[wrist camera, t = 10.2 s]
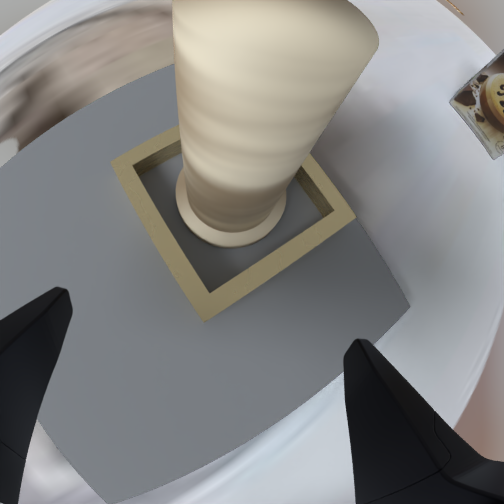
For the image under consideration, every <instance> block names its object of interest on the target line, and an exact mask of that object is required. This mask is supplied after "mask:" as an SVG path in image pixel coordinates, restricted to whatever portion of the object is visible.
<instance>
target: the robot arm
mask: <svg viewBox="0 0 504 504" xmlns="http://www.w3.org/2000/svg"><path fill="white" fill-rule="evenodd" d="M72 314H73V307H72V303H71V299H70V294H69V291H68V290H67V289H65V288H62V287H58V286H57V287H54V288H52V289H51V290H49V291H47V292H45V293H44V294H42V295H40V296H39V297H37V298H35V299H34V300H32V301H30V302H29V303H27V304H25V305H24V306H22V307H20V308H19V309H17V310H15V311H14V312H12V313H11V314H9V315H7V316H6V317H4V318H3V319H1V320H0V503H3V504H18V501H19V494H20V488H21V482H22V477H23V471H24V467H25V462H26V457H27V453H28V449H29V445H30V441H31V437H32V433H33V430H34V426H35V423H36V420H37V416H38V413H39V410H40V407H41V404H42V401H43V398H44V395H45V392H46V389H47V387H48V384H49V381H50V379H51V376H52V373H53V371H54V368H55V366H56V363H57V361H58V358H59V355H60V352H61V349H62V346H63V342H64V339H65V336H66V333H67V330H68V327H69V324H70V321H71V318H72ZM343 368H344V391H345V405H346V413H347V420H348V428H349V436H350V444H351V453H352V463H353V474H354V486H355V500H356V504H504V462H500V461H493V460H489V459H486V458H484V457H483V456H481V455H480V454H478V453H477V452H476V451H475V450H474V449H473V448H472V447H471V446H470V445H469V444H468V443H466V442H465V441H464V440H463V439H462V438H461V437H460V436H459V435H458V434H457V433H456V432H455V431H454V430H453V429H452V428H451V427H450V426H449V425H448V424H447V423H446V422H445V421H444V420H443V419H442V418H441V417H440V416H439V415H438V414H437V412H436V411H434V409H433V408H432V407H431V406H430V405H429V404H428V403H427V402H426V401H425V400H424V398H423V397H422V396H421V395H420V394H419V393H418V392H417V391H416V390H415V389H414V388H413V387H412V386H411V384H410V383H409V382H408V381H407V380H406V379H405V378H404V377H403V376H402V375H401V374H400V373H399V372H398V371H397V370H396V369H395V367H394V366H393V365H392V364H391V363H390V362H389V361H388V360H387V359H386V358H385V357H384V356H383V355H382V354H381V353H380V352H379V351H378V350H377V349H376V348H375V346H374V345H373V344H372V343H371V342H370V341H369V340H367V339H360V338H357V339H355V340H354V341H353V342H352V344H351V345H350V347H349V348H348V350H347V351H346V353H345V354H344V358H343Z"/></svg>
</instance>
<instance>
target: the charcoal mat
mask: <svg viewBox="0 0 504 504" xmlns="http://www.w3.org/2000/svg"><path fill="white" fill-rule="evenodd" d="M177 125H179V118H178V106H177V94H176V80H175V64H172V65H170V66H167V67H165V68H162V69H160V70H157V71H155V72H153V73H150V74H148V75H146V76H144V77H141V78H139V79H137V80H135V81H133V82H130V83H128V84H126V85H124V86H122V87H120V88H118V89H116V90H114V91H112V92H110V93H109V94H107V95H105V96H103V97H101V98H99V99H97V100H96V101H94V102H92V103H90V104H89V105H87V106H85V107H84V108H82V109H80V110H79V111H77V112H75V113H74V114H72V115H70V116H69V117H67V118H66V119H64V120H63V121H61V122H60V123H58V124H57V125H55V126H54V127H52V128H51V129H49V130H48V131H46V132H45V133H44V134H42V135H41V136H39V137H38V138H37V139H35V140H34V141H33V142H31V143H30V144H29V145H27V146H26V147H25V148H24V149H22V150H21V151H20V152H19V153H17V154H16V155H15V156H14V157H12V158H11V159H10V160H9V161H8V162H7V163H5V164H4V165H3V166H2V167H1V168H0V320H1V319H3V318H4V317H6V316H7V315H9V314H11V313H12V312H14V311H15V310H17V309H19V308H20V307H22V306H24V305H25V304H27V303H29V302H30V301H32V300H34V299H35V298H37V297H39V296H40V295H42V294H44V293H45V292H47V291H49V290H51V289H52V288H54V287H57V286H58V287H62V288H65V289H67V290H68V291H69V294H70V299H71V303H72V307H73V314H72V318H71V321H70V324H69V327H68V330H67V333H66V336H65V339H64V342H63V346H62V349H61V352H60V355H59V358H58V361H57V363H56V366H55V368H54V371H53V373H52V376H51V379H50V381H49V384H48V387H47V389H46V392H45V395H44V398H43V401H42V404H41V407H40V410H39V413H38V416H37V420H38V421H39V423H40V424H41V426H42V427H43V429H44V430H45V431H46V433H47V434H48V436H49V437H50V438H51V440H52V441H53V443H54V444H55V445H56V447H57V448H58V449H59V451H60V452H61V453H62V454H63V456H64V457H65V458H66V459H67V461H68V462H69V463H70V464H71V465H72V467H73V468H74V469H75V470H76V471H77V472H78V474H79V475H80V476H81V477H82V478H83V479H84V480H85V481H86V483H87V484H88V485H89V486H90V487H91V488H92V489H93V490H94V491H95V492H96V493H97V494H98V495H99V496H100V497H101V498H102V499H103V500H104V501H105V502H106V503H107V504H115V503H118V502H121V501H124V500H127V499H130V498H132V497H135V496H138V495H141V494H143V493H146V492H148V491H151V490H153V489H156V488H158V487H160V486H163V485H165V484H167V483H170V482H172V481H174V480H176V479H179V478H181V477H183V476H185V475H187V474H189V473H191V472H193V471H195V470H197V469H199V468H201V467H203V466H205V465H207V464H209V463H211V462H213V461H214V460H216V459H218V458H220V457H222V456H224V455H225V454H227V453H229V452H231V451H232V450H234V449H236V448H237V447H239V446H241V445H242V444H244V443H246V442H247V441H249V440H251V439H252V438H254V437H255V436H257V435H259V434H260V433H262V432H263V431H265V430H266V429H268V428H269V427H271V426H272V425H274V424H275V423H277V422H278V421H280V420H281V419H283V418H284V417H285V416H287V415H288V414H290V413H291V412H292V411H294V410H295V409H297V408H298V407H299V406H301V405H302V404H303V403H305V402H306V401H307V400H309V399H310V398H311V397H313V396H314V395H315V394H316V393H318V392H319V391H320V390H322V389H323V388H324V387H325V386H327V385H328V384H329V383H330V382H331V381H333V380H334V379H335V378H336V377H337V376H339V375H340V374H341V373H342V372H343V371H344V368H343V358H344V354H345V353H346V351H347V350H348V348H349V347H350V345H351V344H352V342H353V341H354V340H355V339H357V338H360V339H367V340H369V341H370V342H371V343H372V344H374V343H375V342H376V341H378V340H379V339H380V338H381V337H382V336H383V335H384V334H385V333H386V332H387V331H388V330H389V329H390V328H391V327H392V326H393V325H394V324H395V323H396V322H397V321H398V320H399V318H400V317H401V316H402V315H403V314H404V313H405V312H406V311H407V310H408V309H409V308H410V305H409V303H408V301H407V299H406V298H405V296H404V294H403V292H402V290H401V289H400V287H399V285H398V284H397V282H396V280H395V278H394V277H393V275H392V273H391V272H390V270H389V268H388V267H387V265H386V263H385V262H384V260H383V258H382V257H381V255H380V254H379V252H378V250H377V249H376V247H375V246H374V244H373V242H372V241H371V239H370V238H369V236H368V235H367V233H366V232H365V230H364V229H363V227H362V226H361V224H360V223H359V221H358V220H357V218H355V219H353V220H352V221H351V222H349V223H348V224H347V225H345V226H344V227H342V228H341V229H340V230H338V231H337V232H336V233H334V234H333V235H331V236H330V237H329V238H327V239H326V240H324V241H323V242H322V243H320V244H319V245H317V246H316V247H315V248H313V249H312V250H310V251H309V252H308V253H306V254H305V255H303V256H302V257H300V258H299V259H298V260H296V261H295V262H293V263H292V264H290V265H289V266H288V267H286V268H285V269H283V270H282V271H280V272H279V273H277V274H276V275H275V276H273V277H272V278H270V279H269V280H267V281H266V282H264V283H263V284H261V285H260V286H258V287H257V288H256V289H254V290H253V291H251V292H250V293H248V294H247V295H245V296H244V297H242V298H241V299H239V300H238V301H236V302H235V303H233V304H232V305H230V306H229V307H227V308H226V309H224V310H223V311H221V312H220V313H218V314H217V315H215V316H214V317H212V318H211V319H209V320H208V321H206V322H203V321H202V319H201V318H200V316H199V315H198V313H197V312H196V310H195V309H194V307H193V306H192V304H191V303H190V301H189V300H188V298H187V297H186V295H185V294H184V292H183V290H182V289H181V287H180V286H179V284H178V283H177V281H176V279H175V278H174V276H173V275H172V273H171V271H170V270H169V268H168V266H167V265H166V263H165V261H164V260H163V258H162V256H161V255H160V253H159V251H158V250H157V248H156V246H155V245H154V243H153V241H152V239H151V238H150V236H149V234H148V232H147V231H146V229H145V227H144V225H143V224H142V222H141V220H140V218H139V216H138V215H137V213H136V211H135V209H134V207H133V206H132V204H131V202H130V200H129V198H128V196H127V194H126V192H125V191H124V189H123V187H122V185H121V183H120V181H119V179H118V177H117V175H116V173H115V171H114V169H113V167H112V165H111V163H110V162H111V161H112V160H114V159H115V158H117V157H119V156H121V155H122V154H124V153H126V152H127V151H129V150H131V149H133V148H134V147H136V146H138V145H140V144H142V143H144V142H145V141H147V140H149V139H151V138H153V137H155V136H157V135H159V134H161V133H163V132H165V131H167V130H169V129H171V128H173V127H175V126H177ZM183 167H184V166H183V158H182V153H181V154H179V155H177V156H175V157H173V158H171V159H169V160H167V161H166V162H164V163H162V164H160V165H158V166H157V167H155V168H153V169H151V170H149V171H148V172H146V173H144V174H143V175H141V176H139V179H140V180H141V182H142V184H143V186H144V187H145V189H146V191H147V193H148V194H149V196H150V198H151V200H152V201H153V203H154V205H155V207H156V208H157V210H158V212H159V213H160V215H161V217H162V218H163V220H164V222H165V223H166V225H167V227H168V228H169V230H170V232H171V233H172V235H173V237H174V238H175V240H176V241H177V243H178V245H179V246H180V248H181V250H182V251H183V253H184V254H185V256H186V258H187V259H188V261H189V262H190V264H191V265H192V267H193V269H194V270H195V272H196V273H197V275H198V276H199V278H200V279H201V281H202V283H203V284H204V286H205V287H206V289H207V290H208V292H209V293H211V292H213V291H214V290H216V289H217V288H219V287H220V286H222V285H223V284H225V283H226V282H228V281H230V280H231V279H233V278H234V277H236V276H237V275H239V274H240V273H242V272H243V271H245V270H246V269H248V268H249V267H251V266H252V265H254V264H255V263H257V262H258V261H260V260H261V259H263V258H264V257H266V256H268V255H269V254H271V253H272V252H274V251H275V250H277V249H278V248H280V247H281V246H283V245H284V244H286V243H287V242H289V241H290V240H292V239H293V238H295V237H296V236H298V235H299V234H301V233H302V232H304V231H305V230H307V229H308V228H310V227H311V226H313V225H314V224H316V223H317V222H319V221H320V220H322V219H323V216H322V215H321V214H320V212H319V211H318V209H317V208H316V207H315V205H314V204H313V202H312V201H311V200H310V198H309V197H308V195H307V194H306V193H305V191H304V190H303V189H302V187H301V186H300V185H299V183H298V182H297V181H296V179H295V178H294V177H293V179H292V180H291V182H290V183H289V185H288V186H287V188H286V205H285V209H284V212H283V214H282V216H281V218H280V220H279V221H278V223H277V224H276V225H275V227H274V228H273V229H272V230H271V231H270V233H269V234H268V235H266V236H265V237H264V238H263V239H261V240H260V241H258V242H256V243H254V244H252V245H249V246H246V247H242V248H234V249H228V248H220V247H215V246H212V245H210V244H207V243H205V242H203V241H202V240H200V239H199V238H197V237H196V236H195V235H194V234H192V233H191V232H190V230H189V229H188V228H187V227H186V225H185V224H184V222H183V220H182V218H181V216H180V213H179V210H178V206H177V201H176V184H177V180H178V176H179V174H180V172H181V170H182V168H183Z"/></svg>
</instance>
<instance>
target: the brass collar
mask: <svg viewBox="0 0 504 504" xmlns="http://www.w3.org/2000/svg"><path fill="white" fill-rule="evenodd" d="M181 153H182V149H181V139H180V129H179V125H177V126H175V127H173V128H171V129H169V130H167V131H165V132H163V133H161V134H159V135H157V136H155V137H153V138H151V139H149V140H147V141H145V142H144V143H142V144H140V145H138V146H136V147H134V148H133V149H131V150H129V151H127V152H126V153H124V154H122V155H121V156H119V157H117V158H115V159H114V160H112V161H111V162H110V163H111V165H112V167H113V169H114V171H115V173H116V175H117V177H118V179H119V181H120V183H121V185H122V187H123V189H124V191H125V192H126V194H127V196H128V198H129V200H130V202H131V204H132V206H133V207H134V209H135V211H136V213H137V215H138V216H139V218H140V220H141V222H142V224H143V225H144V227H145V229H146V231H147V232H148V234H149V236H150V238H151V239H152V241H153V243H154V245H155V246H156V248H157V250H158V251H159V253H160V255H161V256H162V258H163V260H164V261H165V263H166V265H167V266H168V268H169V270H170V271H171V273H172V275H173V276H174V278H175V279H176V281H177V283H178V284H179V286H180V287H181V289H182V290H183V292H184V294H185V295H186V297H187V298H188V300H189V301H190V303H191V304H192V306H193V307H194V309H195V310H196V312H197V313H198V315H199V316H200V318H201V319H202V321H203V322H206V321H208V320H209V319H211V318H212V317H214V316H215V315H217V314H218V313H220V312H221V311H223V310H224V309H226V308H227V307H229V306H230V305H232V304H233V303H235V302H236V301H238V300H239V299H241V298H242V297H244V296H245V295H247V294H248V293H250V292H251V291H253V290H254V289H256V288H257V287H258V286H260V285H261V284H263V283H264V282H266V281H267V280H269V279H270V278H272V277H273V276H275V275H276V274H277V273H279V272H280V271H282V270H283V269H285V268H286V267H288V266H289V265H290V264H292V263H293V262H295V261H296V260H298V259H299V258H300V257H302V256H303V255H305V254H306V253H308V252H309V251H310V250H312V249H313V248H315V247H316V246H317V245H319V244H320V243H322V242H323V241H324V240H326V239H327V238H329V237H330V236H331V235H333V234H334V233H336V232H337V231H338V230H340V229H341V228H342V227H344V226H345V225H347V224H348V223H349V222H351V221H352V220H353V219H355V218H356V215H355V214H354V212H353V211H352V209H351V208H350V207H349V205H348V204H347V202H346V201H345V200H344V198H343V197H342V195H341V194H340V193H339V191H338V190H337V188H336V187H335V186H334V184H333V183H332V182H331V180H330V179H329V178H328V176H327V175H326V174H325V172H324V171H323V170H322V168H321V167H320V166H319V164H318V163H317V162H316V161H315V159H314V158H313V157H312V155H311V154H310V153H309V154H308V156H307V157H306V159H305V160H304V162H303V163H302V165H301V166H300V168H299V170H298V171H297V173H296V174H295V176H294V178H295V179H296V181H297V182H298V183H299V185H300V186H301V187H302V189H303V190H304V191H305V193H306V194H307V195H308V197H309V198H310V200H311V201H312V202H313V204H314V205H315V207H316V208H317V209H318V211H319V212H320V214H321V215H322V216H323V219H322V220H320V221H319V222H317V223H316V224H314V225H313V226H311V227H310V228H308V229H307V230H305V231H304V232H302V233H301V234H299V235H298V236H296V237H295V238H293V239H292V240H290V241H289V242H287V243H286V244H284V245H283V246H281V247H280V248H278V249H277V250H275V251H274V252H272V253H271V254H269V255H268V256H266V257H264V258H263V259H261V260H260V261H258V262H257V263H255V264H254V265H252V266H251V267H249V268H248V269H246V270H245V271H243V272H242V273H240V274H239V275H237V276H236V277H234V278H233V279H231V280H230V281H228V282H226V283H225V284H223V285H222V286H220V287H219V288H217V289H216V290H214V291H213V292H211V293H209V292H208V290H207V289H206V287H205V286H204V284H203V283H202V281H201V279H200V278H199V276H198V275H197V273H196V272H195V270H194V269H193V267H192V265H191V264H190V262H189V261H188V259H187V258H186V256H185V254H184V253H183V251H182V250H181V248H180V246H179V245H178V243H177V241H176V240H175V238H174V237H173V235H172V233H171V232H170V230H169V228H168V227H167V225H166V223H165V222H164V220H163V218H162V217H161V215H160V213H159V212H158V210H157V208H156V207H155V205H154V203H153V201H152V200H151V198H150V196H149V194H148V193H147V191H146V189H145V187H144V186H143V184H142V182H141V180H140V179H139V176H141V175H143V174H144V173H146V172H148V171H149V170H151V169H153V168H155V167H157V166H158V165H160V164H162V163H164V162H166V161H167V160H169V159H171V158H173V157H175V156H177V155H179V154H181Z"/></svg>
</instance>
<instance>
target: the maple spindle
mask: <svg viewBox="0 0 504 504" xmlns="http://www.w3.org/2000/svg"><path fill="white" fill-rule="evenodd" d="M172 5H173V42H174V63H175V80H176V94H177V106H178V118H179V129H180V139H181V149H182V158H183V166H184V167H183V168H182V170H181V172H180V174H179V176H178V180H177V184H176V201H177V206H178V210H179V213H180V216H181V218H182V220H183V222H184V224H185V225H186V227H187V228H188V229H189V230H190V232H191V233H192V234H194V235H195V236H196V237H197V238H199V239H200V240H202V241H203V242H205V243H207V244H210V245H212V246H215V247H220V248H228V249H234V248H242V247H246V246H249V245H252V244H254V243H256V242H258V241H260V240H261V239H263V238H264V237H265V236H266V235H268V234H269V233H270V231H271V230H272V229H273V228H274V227H275V225H276V224H277V223H278V221H279V220H280V218H281V216H282V214H283V212H284V209H285V205H286V188H287V186H288V185H289V183H290V182H291V180H292V179H293V177H294V176H295V174H296V173H297V171H298V170H299V168H300V166H301V165H302V163H303V162H304V160H305V159H306V157H307V156H308V154H309V153H310V151H311V150H312V148H313V146H314V145H315V143H316V142H317V140H318V139H319V137H320V136H321V134H322V133H323V131H324V130H325V128H326V127H327V125H328V124H329V122H330V120H331V119H332V117H333V116H334V114H335V113H336V111H337V110H338V108H339V107H340V105H341V104H342V102H343V101H344V99H345V98H346V96H347V95H348V93H349V92H350V90H351V88H352V87H353V85H354V84H355V82H356V81H357V79H358V78H359V76H360V75H361V73H362V72H363V70H364V69H365V67H366V66H367V64H368V63H369V61H370V60H371V58H372V57H373V55H374V54H375V52H376V51H377V49H378V46H379V38H378V34H377V32H376V30H375V28H374V26H373V24H372V23H371V22H370V20H369V19H368V18H367V17H366V16H365V15H364V14H363V13H362V12H361V11H360V10H359V9H358V8H357V7H355V6H354V5H353V4H352V3H350V2H349V1H347V0H173V1H172Z"/></svg>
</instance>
